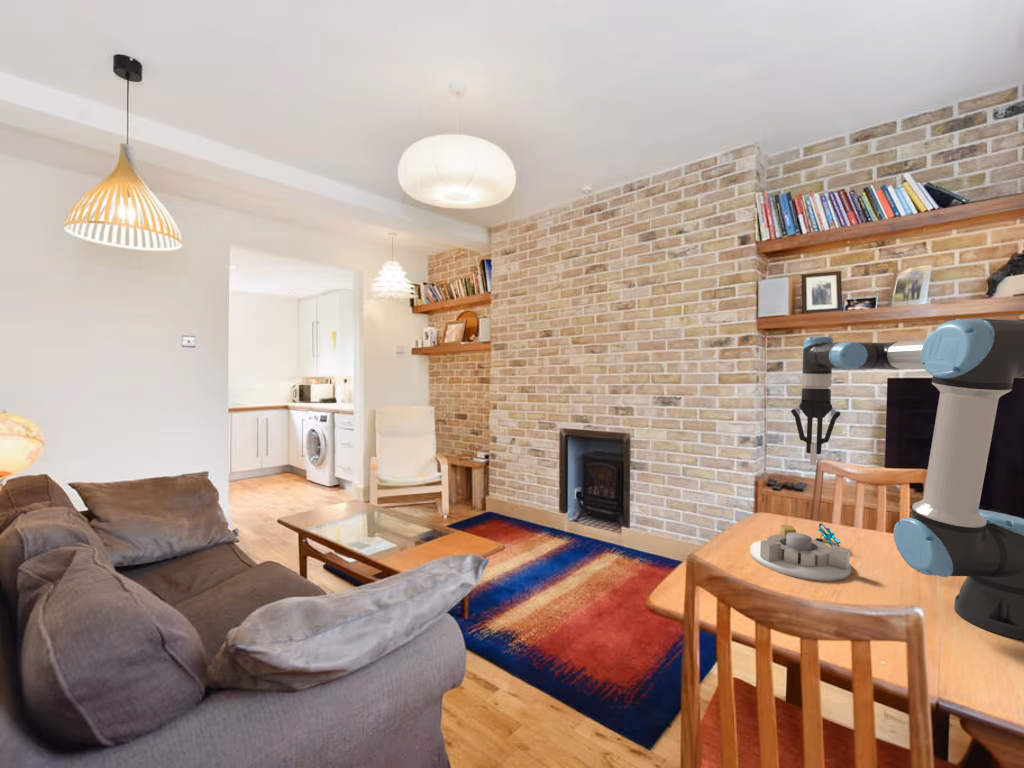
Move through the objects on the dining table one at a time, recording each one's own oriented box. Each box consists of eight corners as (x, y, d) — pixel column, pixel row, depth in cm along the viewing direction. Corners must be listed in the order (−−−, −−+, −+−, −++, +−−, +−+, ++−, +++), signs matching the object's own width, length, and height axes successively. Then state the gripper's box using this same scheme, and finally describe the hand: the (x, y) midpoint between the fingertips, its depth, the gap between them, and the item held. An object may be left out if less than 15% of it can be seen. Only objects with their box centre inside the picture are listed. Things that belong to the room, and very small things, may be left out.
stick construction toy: (847, 546, 136) (828, 522, 140) (824, 558, 138) (806, 533, 141) (835, 543, 147) (818, 521, 150) (815, 554, 149) (798, 531, 152)
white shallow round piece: (873, 581, 119) (874, 554, 119) (778, 580, 120) (779, 553, 119) (814, 544, 143) (815, 522, 143) (735, 543, 144) (735, 521, 143)
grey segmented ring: (825, 543, 140) (826, 528, 140) (854, 570, 121) (855, 553, 121) (747, 536, 145) (747, 521, 145) (763, 561, 127) (763, 544, 127)
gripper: (842, 388, 142) (839, 465, 143) (792, 386, 150) (789, 459, 151) (842, 389, 136) (838, 469, 137) (790, 387, 144) (787, 463, 145)
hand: (813, 464), depth 144 cm, fingers closed
